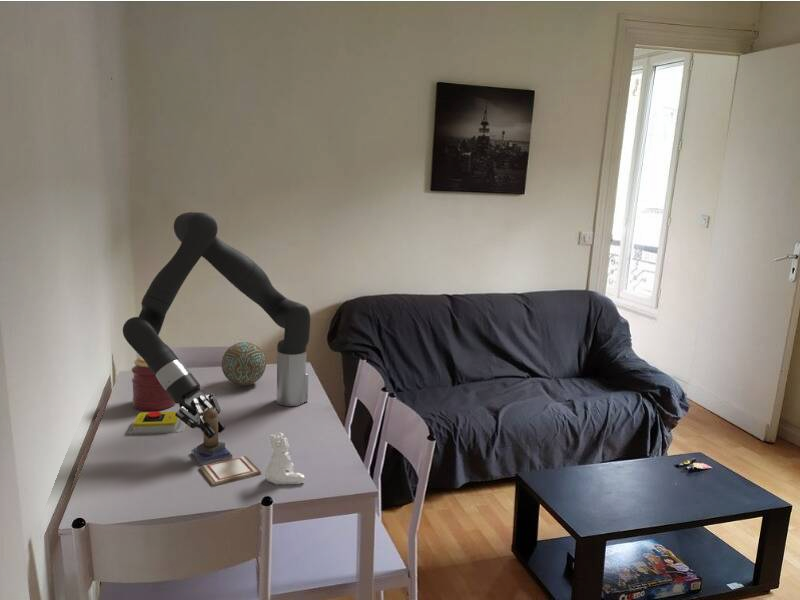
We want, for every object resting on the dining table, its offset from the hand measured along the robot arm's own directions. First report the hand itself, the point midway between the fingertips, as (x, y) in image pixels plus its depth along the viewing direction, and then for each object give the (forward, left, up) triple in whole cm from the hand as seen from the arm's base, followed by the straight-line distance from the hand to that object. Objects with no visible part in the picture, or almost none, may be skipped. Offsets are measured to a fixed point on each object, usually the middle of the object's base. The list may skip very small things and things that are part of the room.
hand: (217, 433), depth 156 cm
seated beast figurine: (-9, +19, -7) cm, 22 cm away
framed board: (0, +9, -7) cm, 11 cm away
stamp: (+1, -2, -5) cm, 6 cm away
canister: (+4, -46, -7) cm, 46 cm away
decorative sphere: (-27, -51, -7) cm, 58 cm away
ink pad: (+1, -2, -7) cm, 7 cm away
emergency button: (+8, -27, -7) cm, 29 cm away
